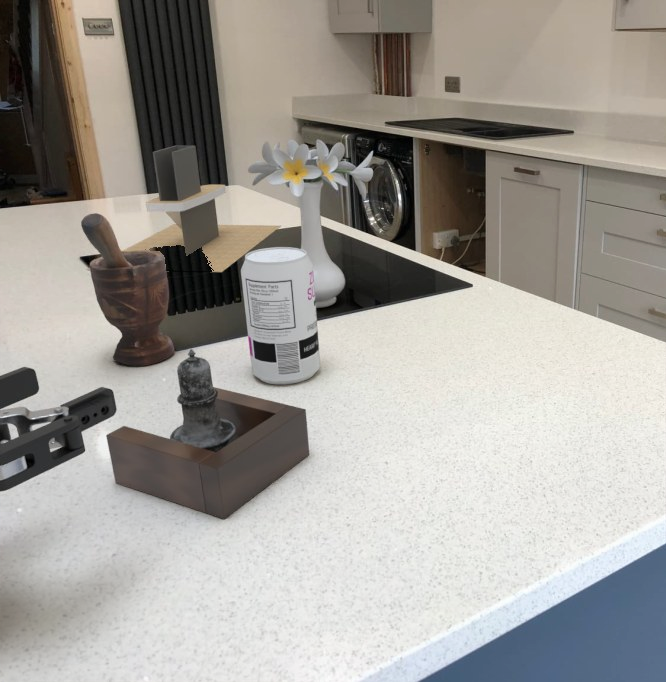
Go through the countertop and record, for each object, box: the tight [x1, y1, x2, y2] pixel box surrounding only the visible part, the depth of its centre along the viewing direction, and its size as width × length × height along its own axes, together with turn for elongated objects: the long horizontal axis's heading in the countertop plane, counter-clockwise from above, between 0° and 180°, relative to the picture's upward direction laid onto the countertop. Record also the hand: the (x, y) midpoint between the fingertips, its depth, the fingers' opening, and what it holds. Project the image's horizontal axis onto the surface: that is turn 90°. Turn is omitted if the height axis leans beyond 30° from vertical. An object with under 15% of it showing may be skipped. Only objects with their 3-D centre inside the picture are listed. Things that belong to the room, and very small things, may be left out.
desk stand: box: [105, 386, 310, 520], centre depth 69 cm, size 13×12×5 cm
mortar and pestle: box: [80, 212, 175, 367], centre depth 90 cm, size 12×9×20 cm
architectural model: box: [86, 145, 281, 273], centre depth 147 cm, size 38×25×20 cm, turn 177°
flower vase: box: [247, 139, 374, 309], centre depth 112 cm, size 13×18×25 cm
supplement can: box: [240, 246, 321, 385], centre depth 88 cm, size 8×8×15 cm
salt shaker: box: [169, 349, 236, 453], centre depth 68 cm, size 6×6×12 cm
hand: (71, 388), depth 55 cm, fingers open, 8 cm apart
